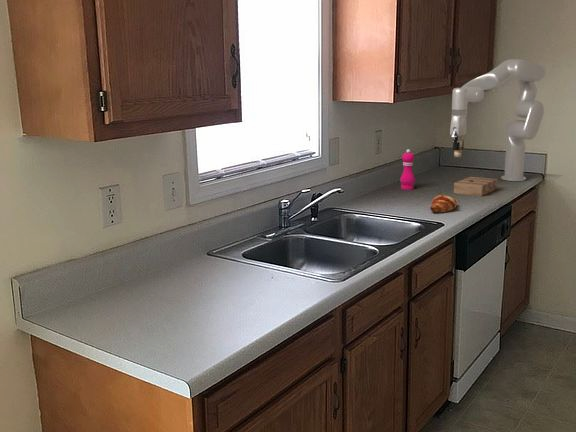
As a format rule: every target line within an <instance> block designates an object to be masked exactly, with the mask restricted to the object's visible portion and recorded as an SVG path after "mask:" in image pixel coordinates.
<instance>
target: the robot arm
mask: <svg viewBox="0 0 576 432" xmlns="http://www.w3.org/2000/svg"><path fill="white" fill-rule="evenodd" d="M545 76H546V70H545V68H544V66H543V65H541V64H539V63H536V62H533V61H529V60H526V59H522V58H521V59H520V58H513V59H512V58H511V59H510V58H509V59H506V60H504V61H502V62H501V63H500V64H499V65H497V66H496V67H494V68H493V69H492V70H490V71H489V72H486V73H483V74H482V75H480V76H478V77H476V78H473V79H471V80H469V81H468V82H466V83H464V84H463V85H462V86H461V87H455V88H453V89H452V100H451V119H450V128H449V129H450V130H449V136H451V139H452V150H453V151H454V150H459V146H460V142H459V137H460V136H461V135H463V146H462V150H463V149H464V142H465V136H466V133H467V116H468V103H469V102H470V103H479V102H481V101H482V100H483V99H484V97H485V90H490V89H491V90H492V89H494V88H498V87H500V86H501V85H503V83H505V82H506V81H508V80H509V79H510V78H513V77H515V79H516V81H517V82H518V85H519V92H518V95H517V98H516V102H515V105H514V109H513V114H514V116H515V117H517V118H521V119H513V120H511V119H510V121H508V122H507V123H506V125H505V127H504V131H505V141H506V143H505V146H506V147H505V158H504V159H505V161H504V175H501V177H500V179H501V180H502V181H507V182H523V181H526V180H527V177H526V176H524V171H525V156H526V155H525V154H526V153H525V152H526V144H525V140H528V141H529V140H533V139H534V138H536V136H537V134H538V132H539V129H540V126H541V124H542V121H543V116H544V113H545V107H544V104H543V103H542V102H541V101H539V100H536V96H537V85H536V82H540V81H542V80H543V79H544V78H545ZM522 119H525V120H522ZM455 135H458V136H455Z"/></svg>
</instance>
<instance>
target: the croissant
mask: <svg viewBox="0 0 576 432" xmlns="http://www.w3.org/2000/svg"><path fill="white" fill-rule="evenodd" d="M457 202H458V200H457V199H455V198H453V197H451V196H448V195H444V194H442V195H437V196H435V197H434V198H433V199H432V201H431V205H430V207H429V208H430V211H431V212H433V213H448V212H450V211H453V210H455V209H456V207H457Z"/></svg>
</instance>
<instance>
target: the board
mask: <svg viewBox="0 0 576 432" xmlns="http://www.w3.org/2000/svg"><path fill="white" fill-rule="evenodd" d="M497 189H498V179H497V178H490V177H489V178H487V177H478V176H477V177H476V176H475V177H474V176H469V177H465V178H463V179H461V180H458V181H456V182H454V183H453V194H459V195H469V196H475V197H483V196H485V195H488V194H489V193H491V192H494V191H495V190H496V191H497Z"/></svg>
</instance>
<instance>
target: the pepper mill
mask: <svg viewBox="0 0 576 432" xmlns="http://www.w3.org/2000/svg"><path fill="white" fill-rule="evenodd" d="M401 159H402V161H403V162H402V166H403V172H402V173H401V176H400V180H399V181H400V183H401V185H400V188H401V190H405V191H407V190H408V191H410V190H414V188H415V187H414V186H415V185H414V183H415V182H416V179H415V175H414V173H413V165H414V162H413V161H414V159H415V154H413V153H412V152H411V150H410V149H406V152H404V153H403V154H402V155H401Z"/></svg>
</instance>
